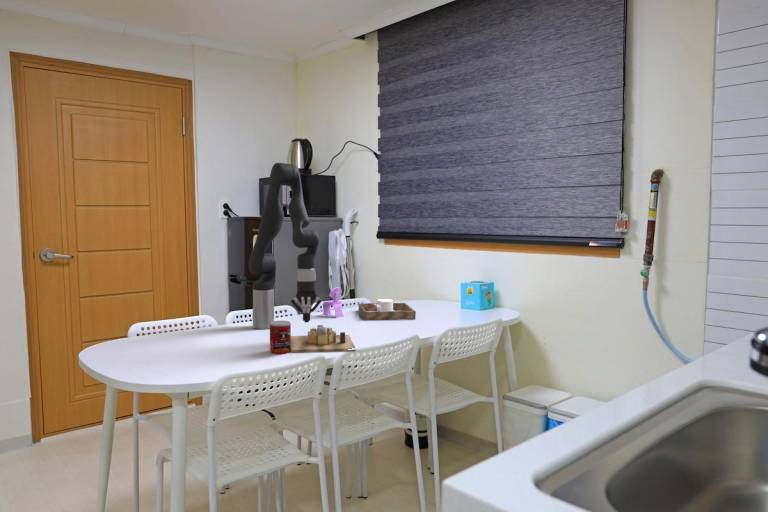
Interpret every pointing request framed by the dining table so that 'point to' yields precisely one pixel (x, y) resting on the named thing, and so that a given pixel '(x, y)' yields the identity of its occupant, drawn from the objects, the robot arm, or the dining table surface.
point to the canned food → (280, 337)
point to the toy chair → (334, 303)
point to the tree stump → (384, 305)
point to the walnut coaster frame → (386, 312)
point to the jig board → (303, 346)
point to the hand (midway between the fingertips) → (306, 322)
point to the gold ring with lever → (321, 336)
